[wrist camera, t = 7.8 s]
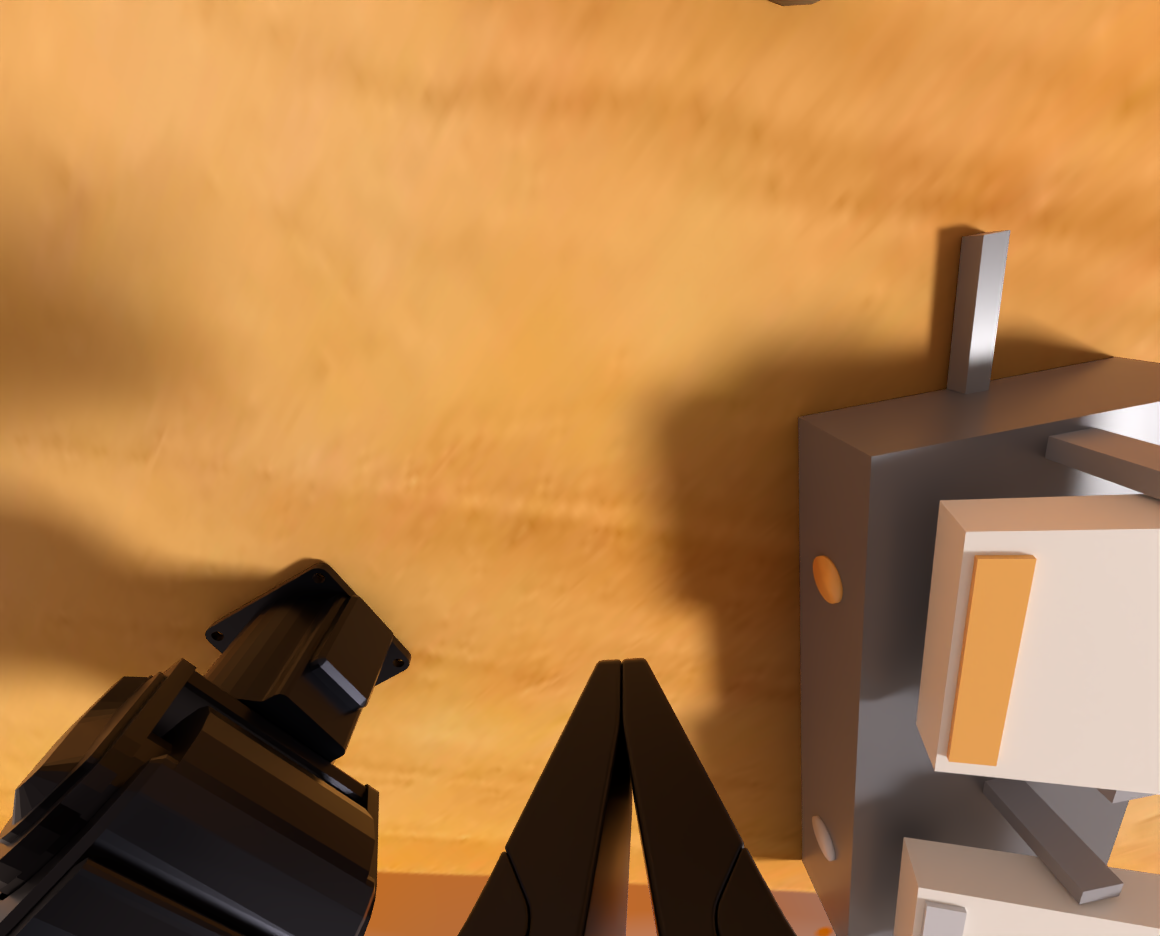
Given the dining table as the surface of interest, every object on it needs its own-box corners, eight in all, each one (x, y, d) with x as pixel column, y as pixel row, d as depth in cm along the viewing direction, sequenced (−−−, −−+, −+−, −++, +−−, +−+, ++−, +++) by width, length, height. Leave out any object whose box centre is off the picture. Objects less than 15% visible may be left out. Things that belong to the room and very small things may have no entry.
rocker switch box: (799, 861, 32) (898, 1080, 24) (791, 268, 19) (1010, 263, 10) (1012, 817, 33) (1189, 1018, 24) (1150, 202, 19) (1660, 142, 11)
